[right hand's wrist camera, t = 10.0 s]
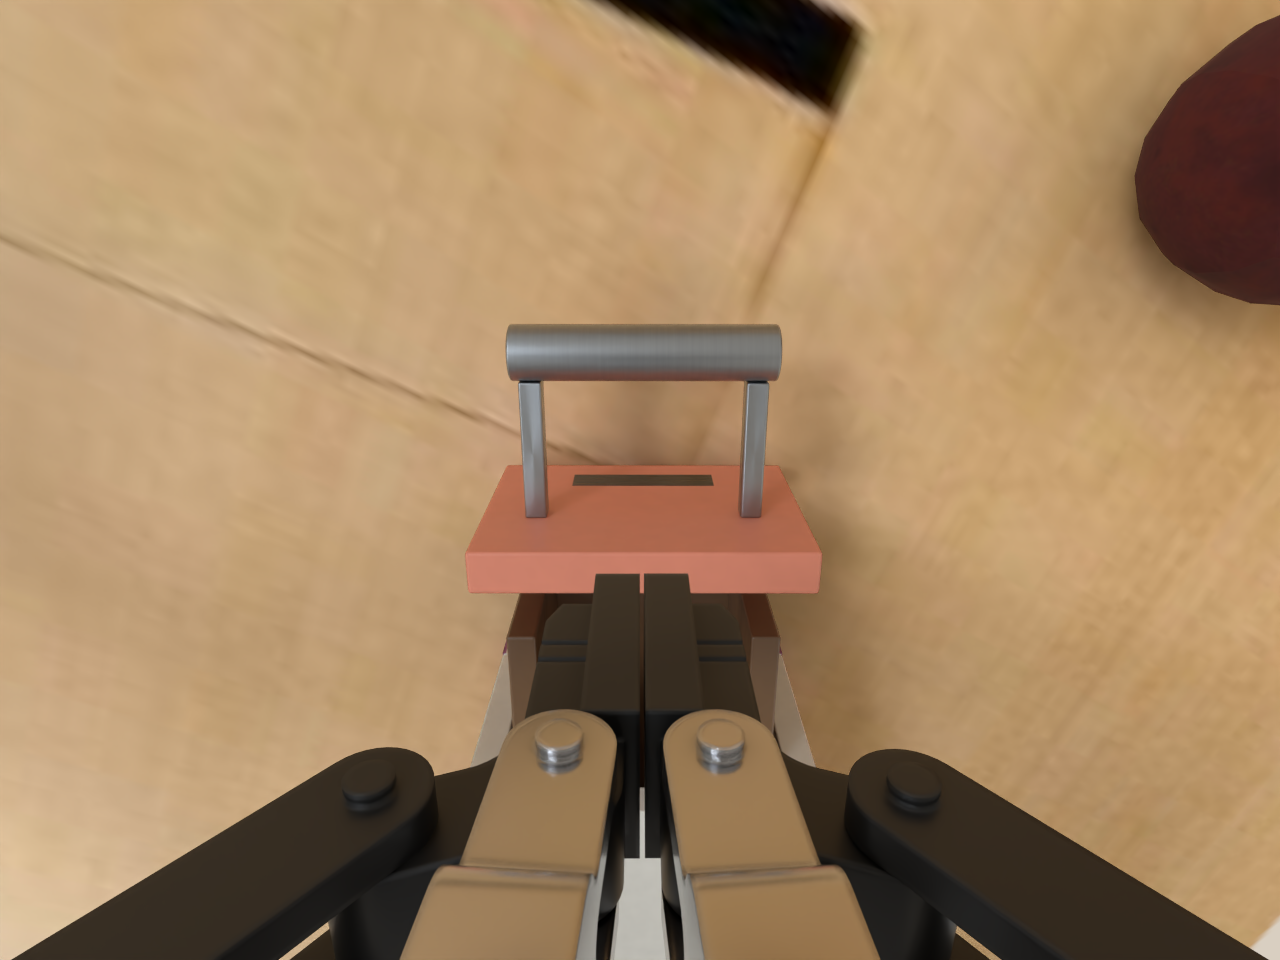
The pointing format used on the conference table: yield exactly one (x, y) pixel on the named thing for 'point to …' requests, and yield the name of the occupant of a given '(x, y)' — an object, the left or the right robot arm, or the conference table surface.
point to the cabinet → (641, 814)
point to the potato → (1220, 171)
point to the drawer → (643, 499)
